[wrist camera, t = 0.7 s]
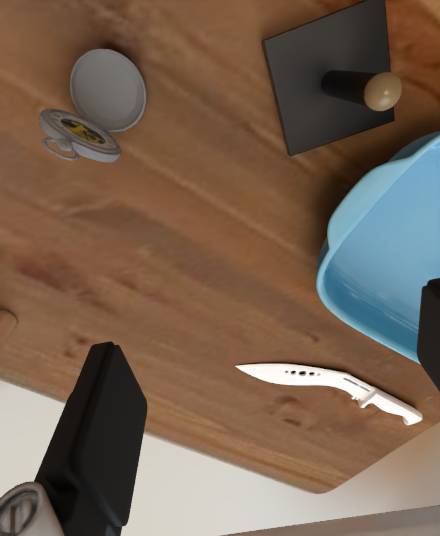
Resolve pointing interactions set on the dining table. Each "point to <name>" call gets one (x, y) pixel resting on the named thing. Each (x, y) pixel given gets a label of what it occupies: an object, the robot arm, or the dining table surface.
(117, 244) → the dining table surface
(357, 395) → the knife
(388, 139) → the dining table surface
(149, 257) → the dining table surface
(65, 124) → the pocket watch
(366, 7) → the stand
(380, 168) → the casserole dish
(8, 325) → the milkshake
